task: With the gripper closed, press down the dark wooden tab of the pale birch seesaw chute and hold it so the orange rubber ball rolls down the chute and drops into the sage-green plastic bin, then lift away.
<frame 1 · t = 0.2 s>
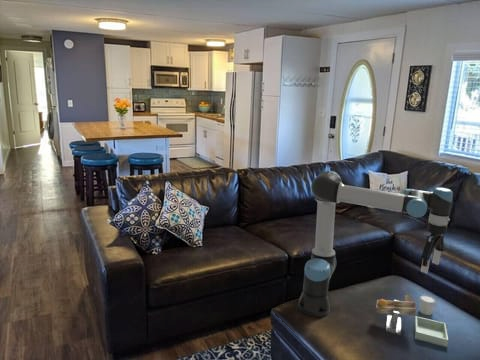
hand: (429, 267, 169), 27 cm above the table, fingers open, 13 cm apart
stand: (393, 325, 171), on the table
bin: (429, 334, 165), on the table
lever: (395, 304, 171), point 9 cm above the table, hinge at -12.0°, touching ball
ball: (382, 303, 171), point 9 cm above the table, tilted 30°, touching lever
grey white cylinder: (425, 312, 182), on the table
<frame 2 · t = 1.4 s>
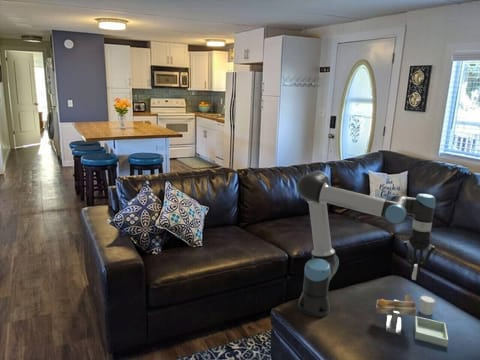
hand: (413, 278, 170), 22 cm above the table, fingers closed
nothing on the table moved.
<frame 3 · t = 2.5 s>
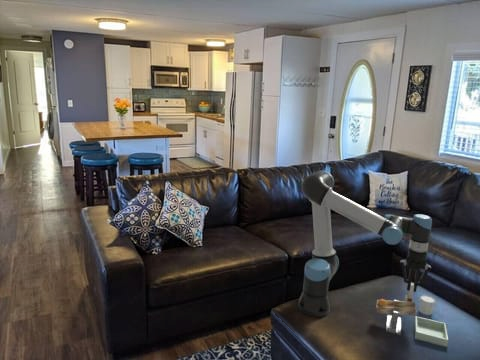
hand: (410, 297, 172), 12 cm above the table, fingers closed
lever: (395, 304, 171), point 9 cm above the table, hinge at -12.0°, touching ball, gripper
everything else where it was.
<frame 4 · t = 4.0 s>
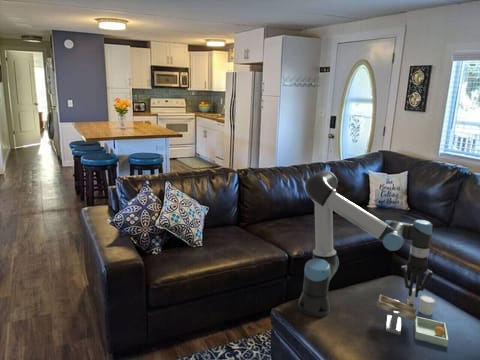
hand: (412, 302, 172), 10 cm above the table, fingers closed
lever: (396, 304, 171), point 9 cm above the table, hinge at 10.5°, touching gripper
ball: (439, 331, 163), point 3 cm above the table, tilted 34°, touching bin
everything else where it was.
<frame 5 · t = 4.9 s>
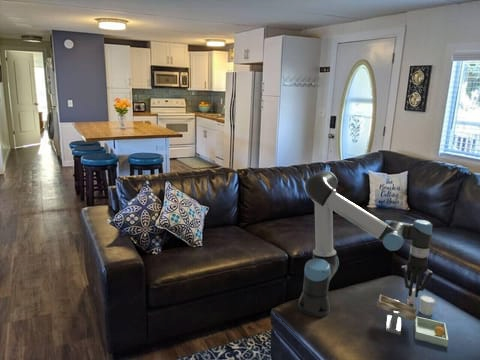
hand: (412, 302, 172), 10 cm above the table, fingers closed
nothing on the table moved.
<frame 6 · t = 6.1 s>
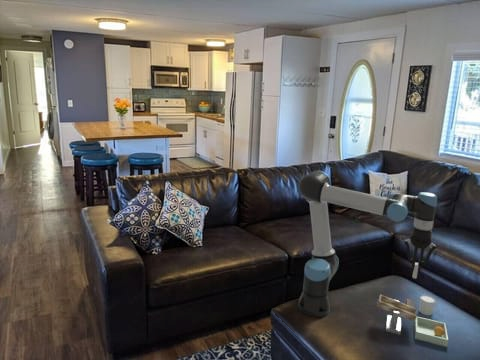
hand: (414, 277, 169), 22 cm above the table, fingers closed
lever: (396, 304, 171), point 9 cm above the table, hinge at 10.6°
everything else where it was.
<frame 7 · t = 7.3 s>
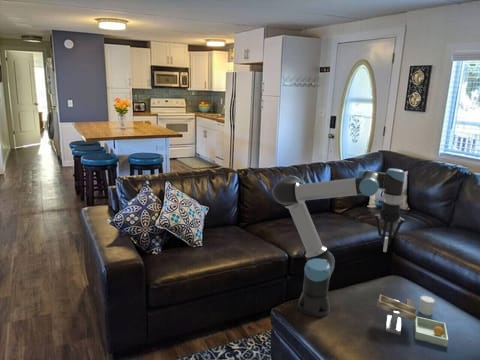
hand: (384, 250, 176), 30 cm above the table, fingers closed
nothing on the table moved.
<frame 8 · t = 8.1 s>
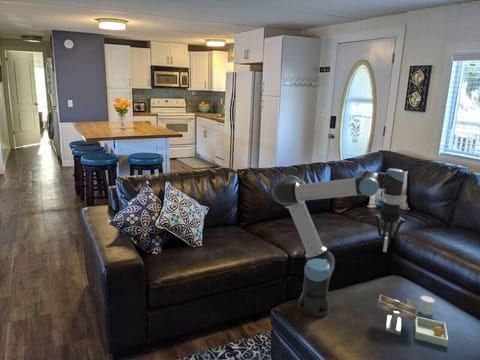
hand: (384, 250, 176), 30 cm above the table, fingers closed
nothing on the table moved.
at the end: ball inside the target area on the bin (2.9 cm from its centre), point 2.6 cm above the bin's base; lever at +11° (first picture: -12°) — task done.
